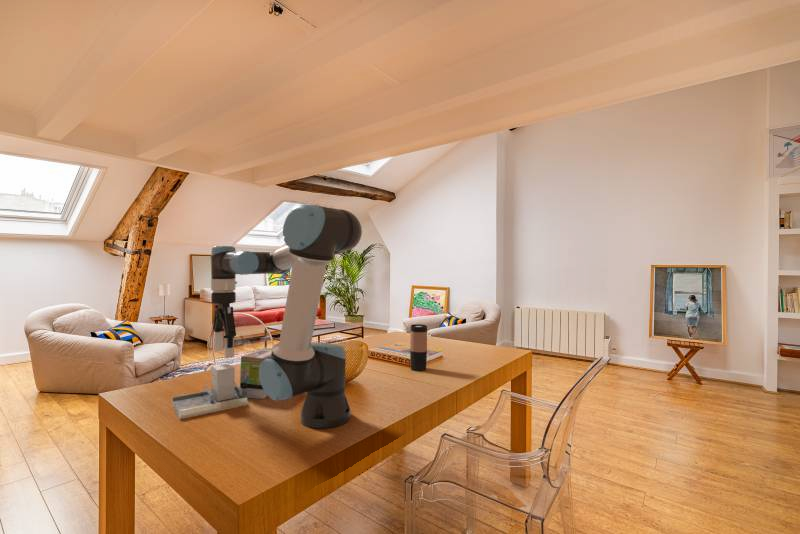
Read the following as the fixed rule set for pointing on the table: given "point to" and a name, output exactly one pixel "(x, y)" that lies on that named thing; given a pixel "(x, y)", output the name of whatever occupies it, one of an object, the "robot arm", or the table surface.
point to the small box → (222, 381)
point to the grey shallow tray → (205, 403)
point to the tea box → (253, 373)
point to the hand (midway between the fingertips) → (223, 354)
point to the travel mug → (418, 347)
